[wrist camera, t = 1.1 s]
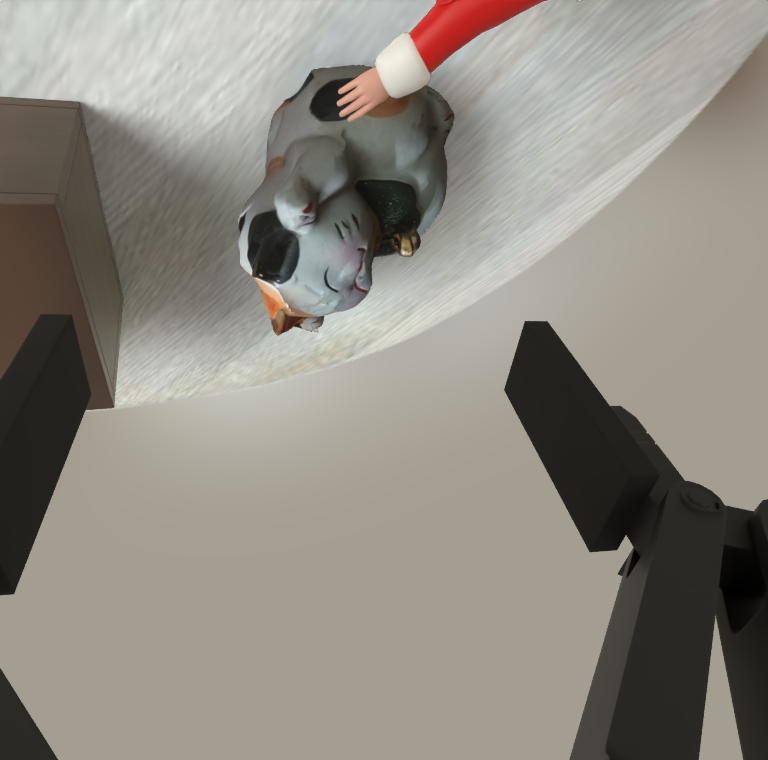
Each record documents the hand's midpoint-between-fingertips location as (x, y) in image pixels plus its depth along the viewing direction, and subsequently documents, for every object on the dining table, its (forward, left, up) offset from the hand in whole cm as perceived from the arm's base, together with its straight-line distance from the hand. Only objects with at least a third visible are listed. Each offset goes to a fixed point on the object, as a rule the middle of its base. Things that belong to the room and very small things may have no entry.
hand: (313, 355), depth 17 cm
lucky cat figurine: (+8, +6, -25) cm, 27 cm away
